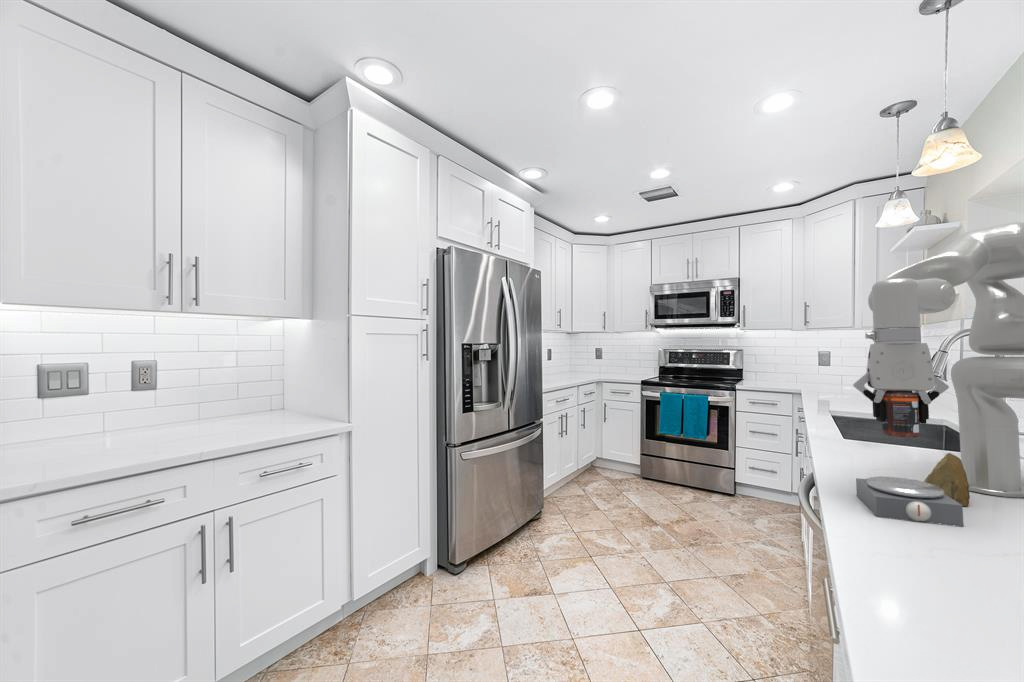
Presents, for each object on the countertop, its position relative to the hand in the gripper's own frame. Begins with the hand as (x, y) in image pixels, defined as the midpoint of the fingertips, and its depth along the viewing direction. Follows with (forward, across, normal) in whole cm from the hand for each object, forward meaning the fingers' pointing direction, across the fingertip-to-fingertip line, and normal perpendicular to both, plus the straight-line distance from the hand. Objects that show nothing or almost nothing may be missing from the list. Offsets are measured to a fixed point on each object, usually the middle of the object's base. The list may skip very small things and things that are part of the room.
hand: (900, 420), depth 91 cm
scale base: (+19, 0, 0) cm, 19 cm away
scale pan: (+15, 0, 0) cm, 15 cm away
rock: (+19, +11, +12) cm, 25 cm away
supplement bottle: (+3, 0, 0) cm, 3 cm away
